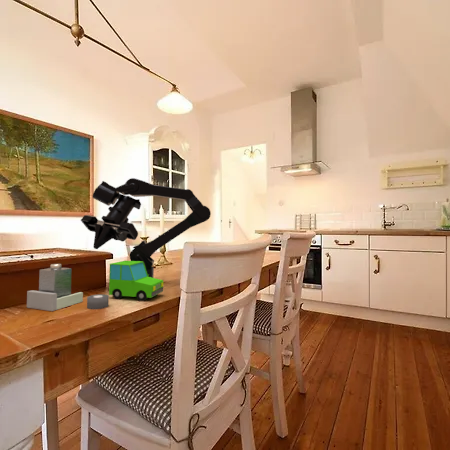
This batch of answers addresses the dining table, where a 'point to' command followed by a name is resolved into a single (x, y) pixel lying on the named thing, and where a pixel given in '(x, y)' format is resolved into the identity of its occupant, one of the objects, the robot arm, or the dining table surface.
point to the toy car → (132, 281)
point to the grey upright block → (55, 280)
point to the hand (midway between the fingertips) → (95, 248)
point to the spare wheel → (97, 301)
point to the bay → (51, 300)
